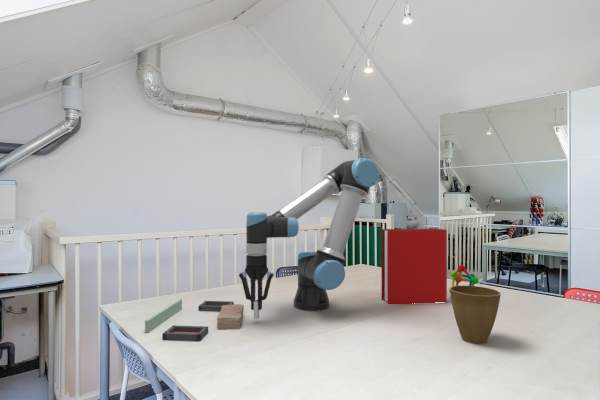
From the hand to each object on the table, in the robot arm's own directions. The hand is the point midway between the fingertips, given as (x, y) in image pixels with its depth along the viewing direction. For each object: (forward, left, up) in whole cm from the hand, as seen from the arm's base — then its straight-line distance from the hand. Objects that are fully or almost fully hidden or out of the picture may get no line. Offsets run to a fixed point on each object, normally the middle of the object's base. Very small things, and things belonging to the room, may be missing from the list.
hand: (256, 318), depth 139 cm
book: (-64, -35, -2) cm, 73 cm away
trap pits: (+20, 0, -1) cm, 20 cm away
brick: (+9, 0, -2) cm, 10 cm away
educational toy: (-89, -48, -2) cm, 101 cm away
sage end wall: (+35, 0, -1) cm, 35 cm away
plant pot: (-74, +10, -2) cm, 74 cm away
